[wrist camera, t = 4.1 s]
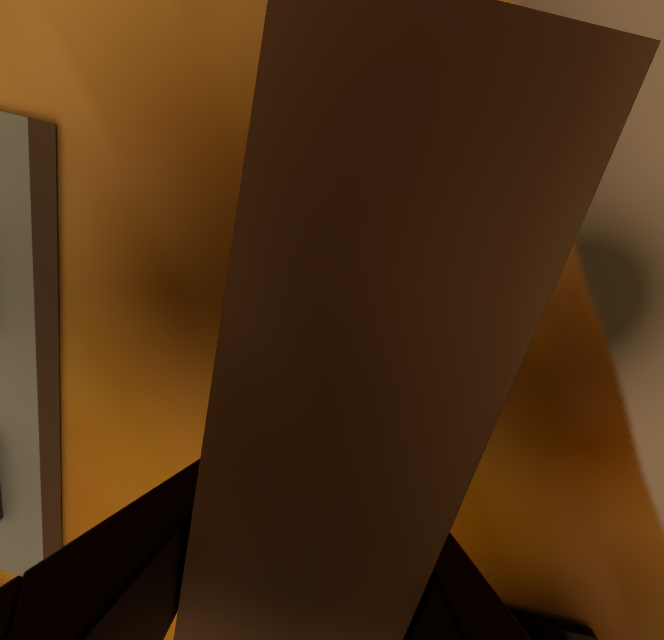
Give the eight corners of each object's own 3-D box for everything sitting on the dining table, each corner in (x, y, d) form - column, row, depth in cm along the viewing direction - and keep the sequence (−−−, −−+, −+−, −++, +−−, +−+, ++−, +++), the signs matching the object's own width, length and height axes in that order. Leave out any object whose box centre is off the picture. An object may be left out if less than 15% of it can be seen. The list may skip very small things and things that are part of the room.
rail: (508, 124, 7) (661, 40, 3) (323, 664, 11) (307, 860, 8) (317, 77, 7) (276, -55, 3) (210, 636, 11) (146, 821, 8)
